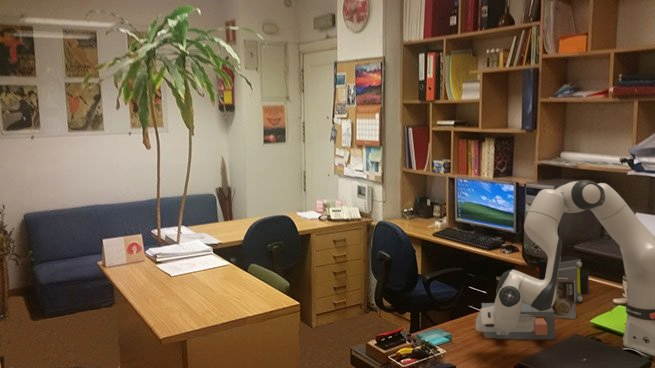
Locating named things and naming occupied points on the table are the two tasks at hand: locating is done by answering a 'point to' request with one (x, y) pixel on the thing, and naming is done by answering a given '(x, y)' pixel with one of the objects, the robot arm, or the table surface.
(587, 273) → the pen holder
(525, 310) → the block
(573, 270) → the electrical component
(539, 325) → the rust plug
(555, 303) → the coffee box
